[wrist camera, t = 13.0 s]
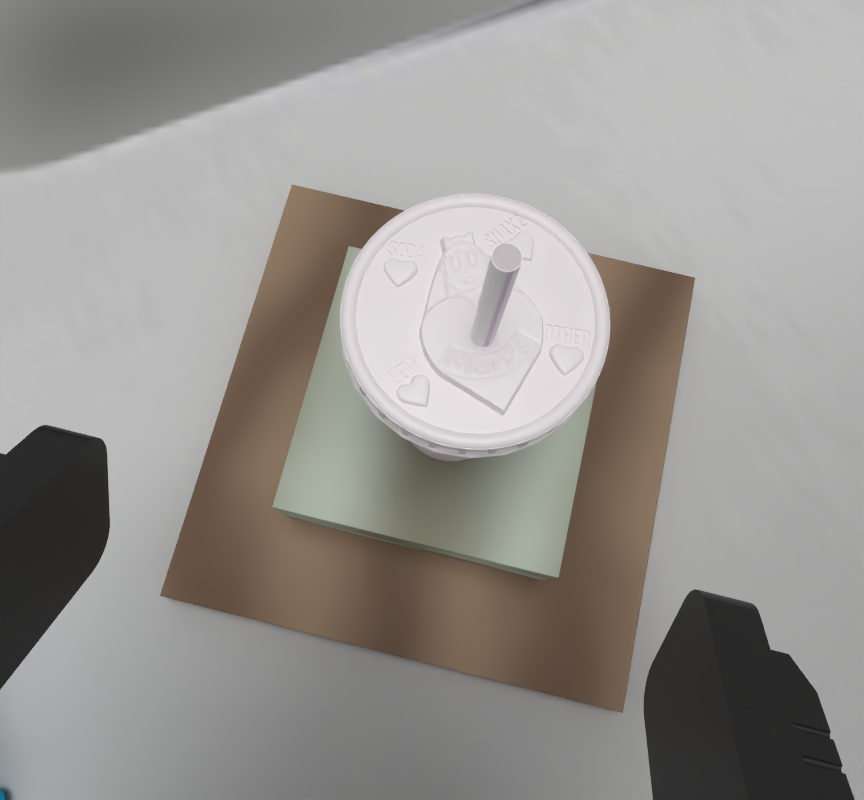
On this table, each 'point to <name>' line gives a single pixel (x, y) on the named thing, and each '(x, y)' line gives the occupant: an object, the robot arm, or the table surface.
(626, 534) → the plinth
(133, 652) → the table surface
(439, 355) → the smoothie
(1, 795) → the blue knobby piece
